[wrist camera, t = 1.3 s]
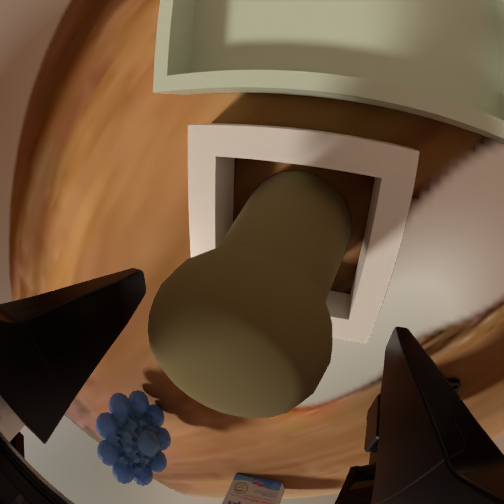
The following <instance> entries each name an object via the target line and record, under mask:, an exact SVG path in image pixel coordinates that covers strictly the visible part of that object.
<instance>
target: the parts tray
mask: <svg viewBox="0 0 504 504" xmlns="http://www.w3.org/2000/svg"><path fill="white" fill-rule="evenodd" d="M153 93H167V94H182V95H186V94H204V93H272V94H289V95H302V96H313V97H322V98H330V99H338V100H345V101H352V102H358V103H364V104H369V105H375V106H380V107H385V108H390V109H394V110H399V111H403V112H407V113H411V114H415V115H419V116H423V117H427V118H430V119H434V120H437V121H441V122H444V123H447V124H450V125H454V126H457V127H460V128H463V129H465V130H468V131H471V132H474V133H477V134H479V135H482V136H485V137H487V138H490V139H492V140H495V141H497V142H500V143H502V144H504V0H160V7H159V15H158V24H157V35H156V47H155V62H154V82H153Z"/></svg>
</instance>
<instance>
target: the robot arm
mask: <svg viewBox="0 0 504 504" xmlns="http://www.w3.org/2000/svg"><path fill="white" fill-rule="evenodd" d="M145 293H146V284H145V278H144V273H143V271H142V270H139V269H135V268H131V269H128V270H124V271H120V272H117V273H113V274H110V275H106V276H103V277H99V278H96V279H92V280H89V281H85V282H82V283H78V284H75V285H71V286H68V287H64V288H61V289H58V290H55V291H51V292H47V293H44V294H40V295H37V296H33V297H29V298H25V299H20V300H16V301H12V302H8V303H3V304H0V504H74V503H73V502H71V501H70V500H69V499H68V498H66V497H65V496H64V495H63V494H62V493H60V492H59V491H58V490H57V489H55V488H54V487H53V486H52V485H51V484H50V483H49V482H48V481H46V480H45V479H44V478H43V477H42V476H41V475H40V474H39V473H38V472H37V471H36V470H35V469H34V468H33V467H32V466H31V465H30V464H29V463H28V462H27V461H26V460H25V459H24V436H23V435H22V434H21V433H20V432H19V431H20V430H21V429H22V428H23V426H24V425H26V427H27V428H28V429H29V430H30V431H31V432H32V433H33V434H34V435H35V436H36V437H37V438H39V439H40V440H41V441H42V442H43V443H44V444H45V443H46V442H47V441H48V439H49V438H50V436H51V434H52V433H53V431H54V429H55V428H56V426H57V425H58V423H59V422H60V420H61V419H62V417H63V415H64V414H65V412H66V411H67V409H68V408H69V406H70V405H71V403H72V401H73V400H74V398H75V397H76V395H77V394H78V392H79V391H80V389H81V388H82V387H83V385H84V384H85V382H86V381H87V379H88V378H89V376H90V375H91V373H92V372H93V371H94V369H95V368H96V366H97V365H98V364H99V362H100V361H101V359H102V358H103V356H104V355H105V354H106V352H107V351H108V350H109V348H110V347H111V345H112V344H113V343H114V341H115V340H116V339H117V337H118V336H119V334H120V333H121V332H122V330H123V329H124V328H125V326H126V325H127V323H128V322H129V320H130V319H131V317H132V315H133V314H134V312H135V310H136V309H137V307H138V305H139V304H140V302H141V300H142V299H143V297H144V296H145ZM460 387H461V383H460V380H457V379H446V378H445V376H444V375H443V373H442V372H441V371H440V369H439V368H438V367H437V365H436V364H435V363H434V362H433V360H432V359H431V358H430V356H429V355H428V354H427V352H426V351H425V350H424V349H423V347H422V346H421V345H420V343H419V342H418V341H417V340H416V338H415V337H414V336H413V335H412V333H411V332H410V331H409V330H408V329H407V328H403V327H396V328H395V329H394V330H393V332H392V335H391V337H390V339H389V342H388V344H387V346H386V350H385V360H384V369H383V378H382V386H381V393H380V394H379V395H378V396H377V397H376V399H375V400H374V402H373V404H372V405H371V407H370V408H369V410H368V415H367V427H366V438H365V447H364V449H365V451H366V452H370V459H369V465H365V466H360V467H359V466H354V467H351V468H350V470H349V473H348V475H347V478H346V480H345V482H344V485H343V487H342V489H341V491H340V493H339V496H338V498H337V500H336V502H335V504H504V455H503V454H502V452H501V451H500V450H499V449H498V447H497V446H496V445H495V443H494V442H493V441H492V440H491V438H490V437H489V436H488V435H487V433H486V432H485V431H484V430H483V428H482V427H481V426H480V424H479V423H478V422H477V421H476V419H475V418H474V417H473V415H472V414H471V412H470V411H469V410H468V408H467V407H466V405H465V404H464V403H463V401H462V400H461V399H460V397H459V396H458V394H457V393H456V392H457V391H458V390H459V388H460ZM459 399H460V400H459Z"/></svg>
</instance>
